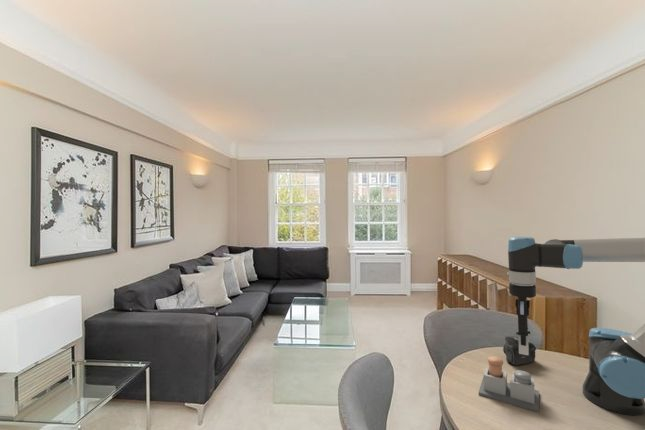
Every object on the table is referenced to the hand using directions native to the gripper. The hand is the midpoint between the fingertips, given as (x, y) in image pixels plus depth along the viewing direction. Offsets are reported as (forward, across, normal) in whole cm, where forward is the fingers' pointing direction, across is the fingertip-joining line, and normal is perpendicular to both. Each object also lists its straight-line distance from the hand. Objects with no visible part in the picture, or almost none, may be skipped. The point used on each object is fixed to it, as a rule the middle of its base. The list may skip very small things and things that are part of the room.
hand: (523, 353), depth 104 cm
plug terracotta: (+10, 0, -9) cm, 13 cm away
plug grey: (+13, 0, -1) cm, 13 cm away
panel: (+15, 0, -5) cm, 16 cm away
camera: (+15, -29, -3) cm, 33 cm away
